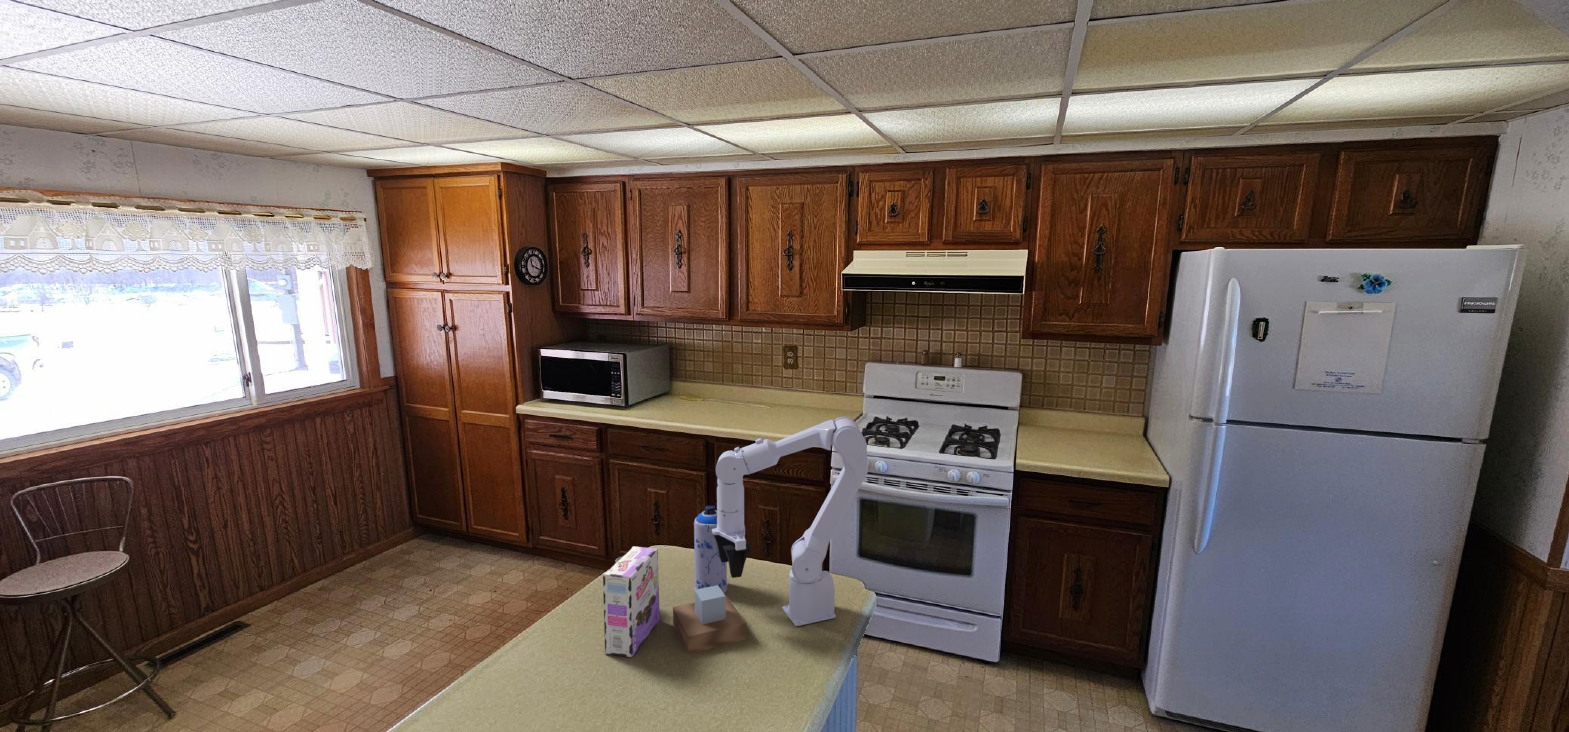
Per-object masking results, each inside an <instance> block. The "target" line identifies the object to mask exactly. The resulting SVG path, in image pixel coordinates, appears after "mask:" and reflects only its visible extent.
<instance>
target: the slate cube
mask: <svg viewBox="0 0 1569 732" xmlns="http://www.w3.org/2000/svg"><path fill="white" fill-rule="evenodd" d="M726 596H727V595H725V592H724V593H723V592H722V590H721V589H720V588H719V586H718V585H716V586H711V587H706V588H702V589H697V590H694V603H695V614H696V615H697V617H698V619H699V620H700V622H701V624H702V625H703V624H707V623H711V622H716V621H720V620H724V619H726Z"/></svg>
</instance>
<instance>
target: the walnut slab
mask: <svg viewBox="0 0 1569 732" xmlns="http://www.w3.org/2000/svg"><path fill="white" fill-rule="evenodd" d="M725 596H726V619H724V620H720V621H716V622H711V623H707V624H703V625H702V624H701V622H700V620H699V619H698V617H697V615H696V614H695V602H691V603H687V604H681V605H676V606H672V624H673V626H674V628H675V630H676V631H677V634H678V636H679V638H680V640H681V642H682V644H683V646H684V648H685V650H686V652H687V654H693V653H697V652H701V651H704V650H709V649H713V648H716V647H720V646H725V645H729V644H734V643H737V642H741V641H745V640H747V622H746V621H745V619H744V618H743V616H742V615H741V614H740V612H739V611H738V610H737V608H736V607H735V605H734V604H733V603H732V601H731V600H730V599H729V597H728V596H727V595H725Z"/></svg>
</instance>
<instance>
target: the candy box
mask: <svg viewBox="0 0 1569 732" xmlns="http://www.w3.org/2000/svg"><path fill="white" fill-rule="evenodd" d="M658 550H659V549H658V548H654V547H645V546H644V547H643V546H632V547H631V548H630V549H629V550H628V551H627V553H625V554H624V555H623V556H621V557H622V558H621V559H620V560H619V561H618V562H617V563H615V562H614V564H613V565H612V566H611V567H610V568H609V569H608V570H607V571H606V572H603V575H602V585H603V586H602V589H603V596H602V597H603V626H604V631H603V632H604V653H605V654H607V655H613V656H622V657H626V658H627V657H628V658H632V657H633V656H634V655H635V653H636V652H637V651H638V649H639V648H640V647H641V646H642V644H643V643H644V642H645V640H646V639H647V638H648V637H649V635H650V634H651V632H652V631H653V629H654V628H655V627H656V626H657V624H658V623H659V621H660V587H659V582H660V581H659V552H658Z"/></svg>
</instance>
